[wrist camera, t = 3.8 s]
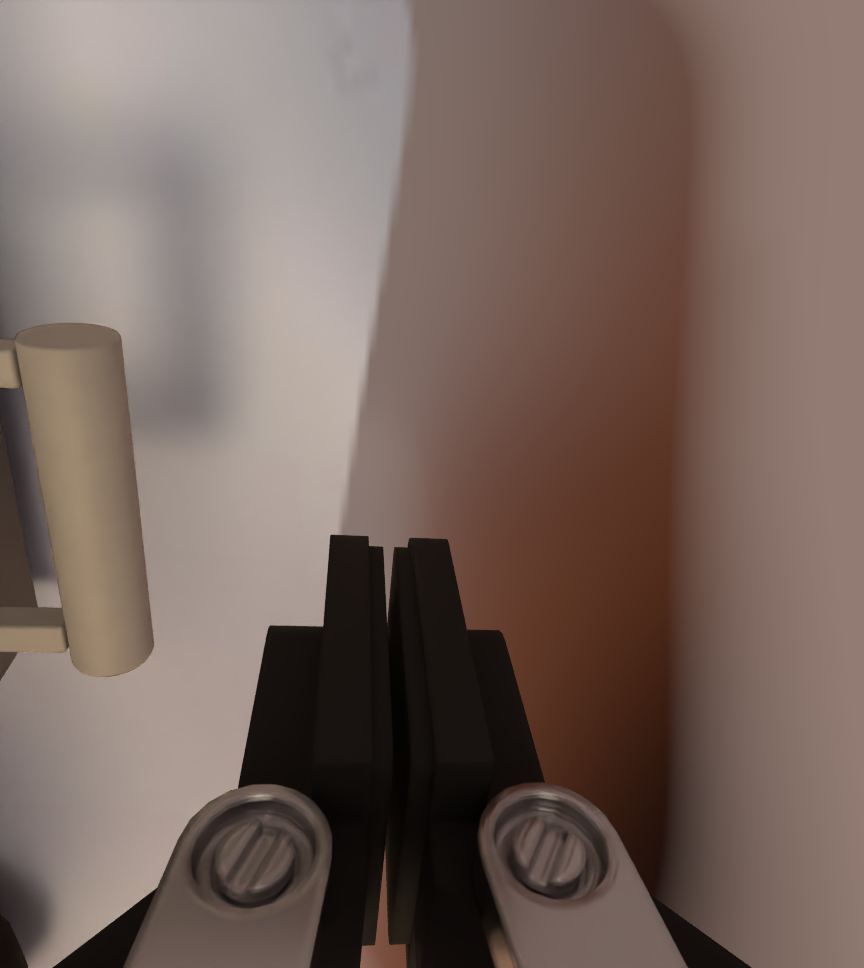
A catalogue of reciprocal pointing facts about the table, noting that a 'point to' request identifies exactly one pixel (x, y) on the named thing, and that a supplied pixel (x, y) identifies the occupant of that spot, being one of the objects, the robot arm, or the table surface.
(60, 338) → the drawer
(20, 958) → the container
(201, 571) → the table surface
